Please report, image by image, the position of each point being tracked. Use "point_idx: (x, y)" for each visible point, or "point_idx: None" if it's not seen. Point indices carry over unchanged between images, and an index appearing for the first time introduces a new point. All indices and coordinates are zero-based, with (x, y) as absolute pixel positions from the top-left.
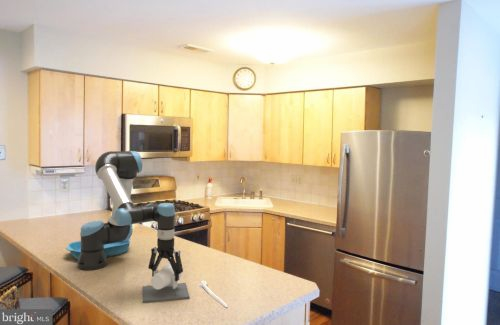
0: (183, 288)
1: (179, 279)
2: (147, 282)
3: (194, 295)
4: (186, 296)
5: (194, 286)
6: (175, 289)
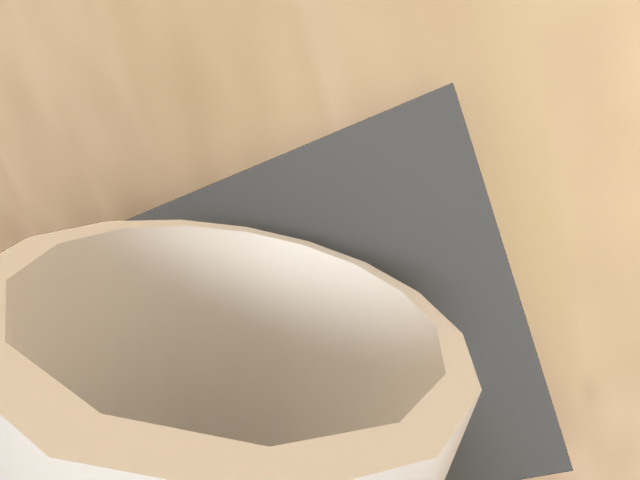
0: (462, 274)
1: (416, 298)
2: (4, 104)
3: (610, 375)
4: (536, 468)
5: (584, 120)
6: None
